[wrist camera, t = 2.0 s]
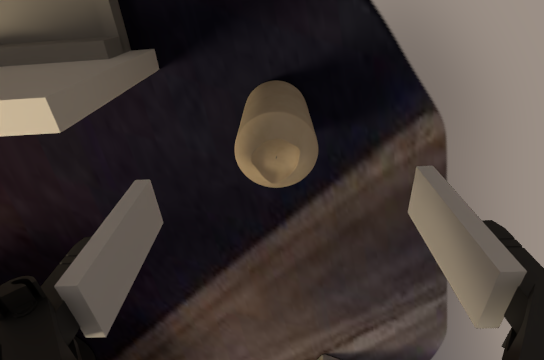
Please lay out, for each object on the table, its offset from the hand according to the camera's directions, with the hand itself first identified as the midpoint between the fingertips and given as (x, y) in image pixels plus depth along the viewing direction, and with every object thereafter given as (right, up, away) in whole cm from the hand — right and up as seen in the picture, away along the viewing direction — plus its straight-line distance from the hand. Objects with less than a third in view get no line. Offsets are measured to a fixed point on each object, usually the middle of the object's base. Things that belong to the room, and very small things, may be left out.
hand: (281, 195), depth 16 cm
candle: (0, +7, +12) cm, 14 cm away
